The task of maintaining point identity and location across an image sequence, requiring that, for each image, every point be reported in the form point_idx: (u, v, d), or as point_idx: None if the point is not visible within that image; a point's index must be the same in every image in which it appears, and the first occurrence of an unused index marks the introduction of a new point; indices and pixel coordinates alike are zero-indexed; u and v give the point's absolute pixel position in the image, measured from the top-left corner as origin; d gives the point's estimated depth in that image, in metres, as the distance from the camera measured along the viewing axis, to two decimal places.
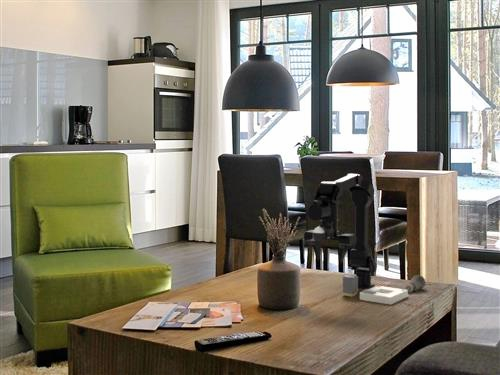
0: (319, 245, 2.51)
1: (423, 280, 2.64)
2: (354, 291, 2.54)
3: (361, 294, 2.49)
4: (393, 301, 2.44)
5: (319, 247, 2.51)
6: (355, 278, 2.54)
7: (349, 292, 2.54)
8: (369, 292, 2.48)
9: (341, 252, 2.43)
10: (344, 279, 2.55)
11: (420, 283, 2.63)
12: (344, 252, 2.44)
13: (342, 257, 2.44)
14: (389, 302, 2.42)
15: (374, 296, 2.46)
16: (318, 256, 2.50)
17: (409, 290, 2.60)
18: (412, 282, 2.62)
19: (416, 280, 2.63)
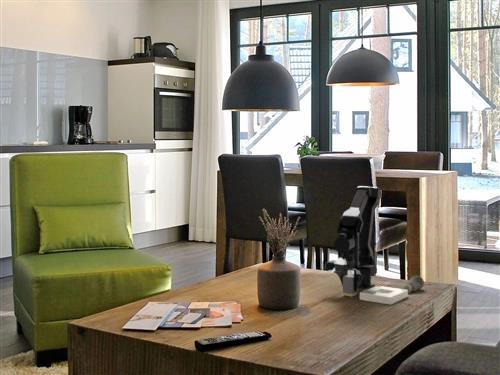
0: None
1: (421, 280, 2.63)
2: (354, 291, 2.54)
3: (361, 294, 2.49)
4: (393, 301, 2.44)
5: None
6: None
7: (349, 292, 2.54)
8: (369, 292, 2.48)
9: (356, 282, 2.53)
10: (344, 279, 2.55)
11: (418, 283, 2.62)
12: (359, 282, 2.54)
13: (357, 287, 2.54)
14: (389, 302, 2.42)
15: (374, 296, 2.46)
16: None
17: (408, 290, 2.59)
18: (411, 282, 2.61)
19: (414, 280, 2.62)
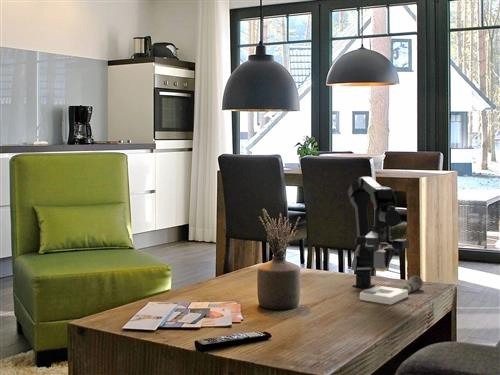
0: None
1: (420, 281, 2.63)
2: (385, 266, 2.49)
3: (361, 294, 2.49)
4: (393, 301, 2.44)
5: None
6: None
7: (380, 267, 2.48)
8: (369, 292, 2.48)
9: (387, 256, 2.47)
10: (375, 254, 2.49)
11: (417, 283, 2.62)
12: (390, 256, 2.48)
13: (388, 261, 2.48)
14: (389, 302, 2.42)
15: (374, 296, 2.46)
16: None
17: None
18: (409, 283, 2.60)
19: (413, 281, 2.62)
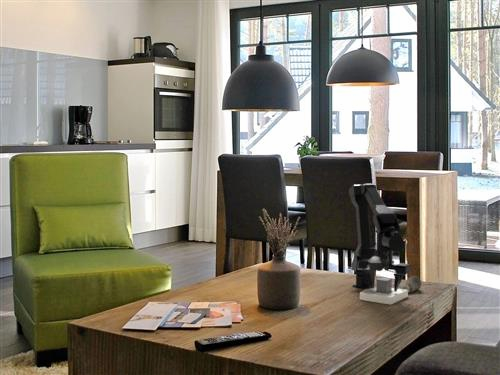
0: (373, 274, 2.54)
1: (419, 281, 2.62)
2: None
3: (361, 294, 2.49)
4: (393, 301, 2.44)
5: (373, 276, 2.54)
6: (389, 281, 2.50)
7: None
8: (369, 292, 2.48)
9: (396, 281, 2.46)
10: (378, 282, 2.50)
11: (416, 284, 2.61)
12: (399, 281, 2.48)
13: (397, 286, 2.48)
14: (389, 302, 2.42)
15: (374, 296, 2.46)
16: (372, 285, 2.53)
17: None
18: (408, 283, 2.60)
19: (412, 281, 2.61)
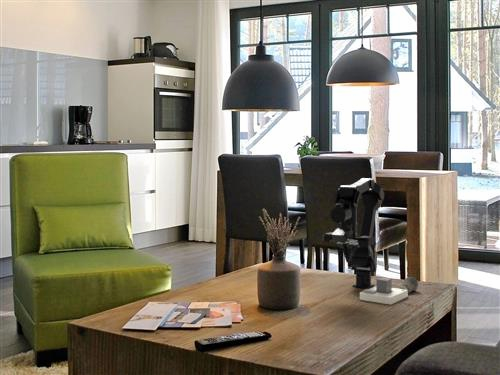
0: None
1: (416, 282, 2.61)
2: None
3: (361, 294, 2.49)
4: (393, 301, 2.44)
5: None
6: (389, 281, 2.50)
7: None
8: (369, 292, 2.48)
9: (349, 252, 2.54)
10: (378, 282, 2.50)
11: (413, 284, 2.60)
12: (352, 252, 2.55)
13: (350, 257, 2.55)
14: (389, 302, 2.42)
15: (374, 296, 2.46)
16: None
17: None
18: (405, 284, 2.58)
19: (409, 282, 2.60)
